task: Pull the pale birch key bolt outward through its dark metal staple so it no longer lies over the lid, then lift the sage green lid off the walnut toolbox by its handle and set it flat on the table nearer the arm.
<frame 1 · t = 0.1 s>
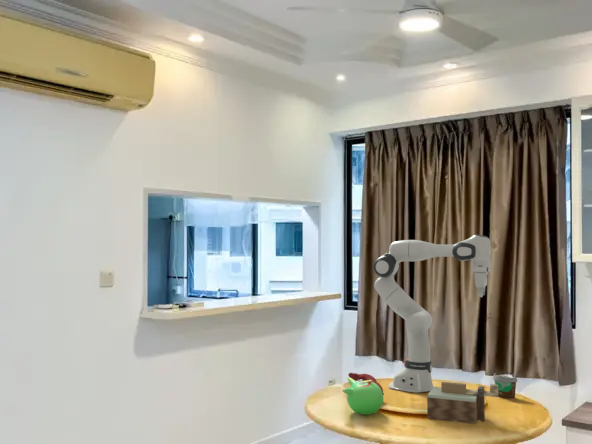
hand: (481, 296, 294), 48 cm above the table, tool pointing down, fingers open, 8 cm apart
toy bird: (363, 413, 262), on the table
food container: (502, 397, 289), on the table
wooden key: (481, 389, 253), point 13 cm above the table, slide at 0.0 cm
toolbox: (453, 416, 257), on the table
toolbox lid: (453, 395, 257), point 9 cm above the table, touching toolbox
red toy dinosaur: (369, 395, 292), on the table
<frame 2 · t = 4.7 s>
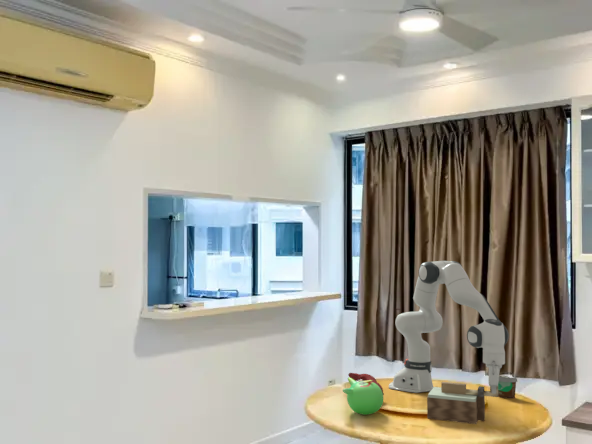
hand: (494, 392, 251), 12 cm above the table, tool pointing down, fingers closed on wooden key, 3 cm apart
wooden key: (481, 389, 253), point 13 cm above the table, slide at 0.0 cm, touching gripper, toolbox lid
toolbox lid: (453, 395, 257), point 9 cm above the table, touching toolbox, wooden key
everything else where it was.
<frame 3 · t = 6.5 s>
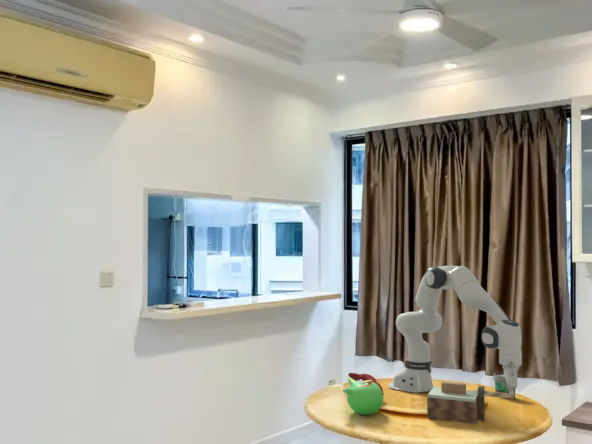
hand: (510, 393, 249), 12 cm above the table, tool pointing down, fingers closed on wooden key, 3 cm apart
wooden key: (497, 390, 250), point 13 cm above the table, slide at 6.4 cm, touching gripper
toolbox lid: (453, 395, 257), point 9 cm above the table, touching toolbox
everything else where it was.
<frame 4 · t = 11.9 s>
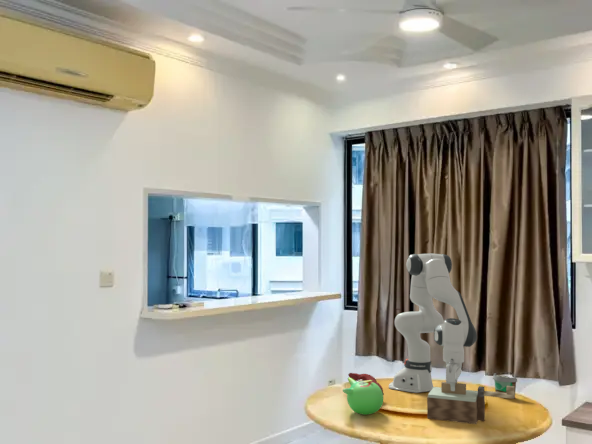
hand: (453, 389, 257), 12 cm above the table, tool pointing down, fingers closed on toolbox lid, 2 cm apart
wooden key: (497, 390, 250), point 13 cm above the table, slide at 6.5 cm
toolbox lid: (453, 395, 257), point 9 cm above the table, touching gripper, toolbox
everything else where it was.
when the fingers open (6 cm above the table, at t = 19.8 s): toolbox lid drops 3 cm, point 1 cm above the table.
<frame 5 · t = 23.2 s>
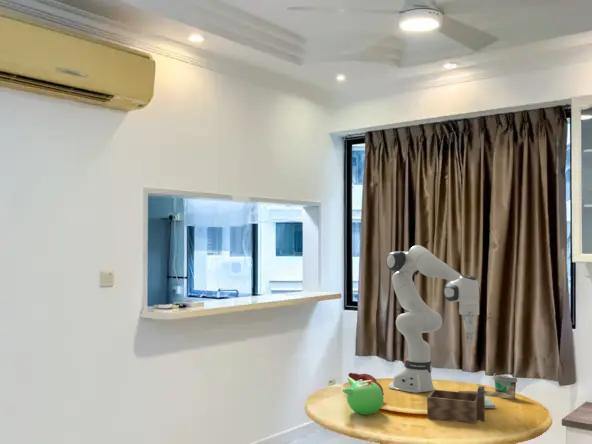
hand: (469, 340, 277), 29 cm above the table, tool pointing down, fingers open, 8 cm apart
toolbox lid: (469, 403, 276), point 1 cm above the table
everything else where it was.
at the end: wooden key slide at 6.5 cm; toolbox lid inside the target area (0.1 cm from its centre), point 0.5 cm above the table; toolbox lid tilted 0° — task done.
